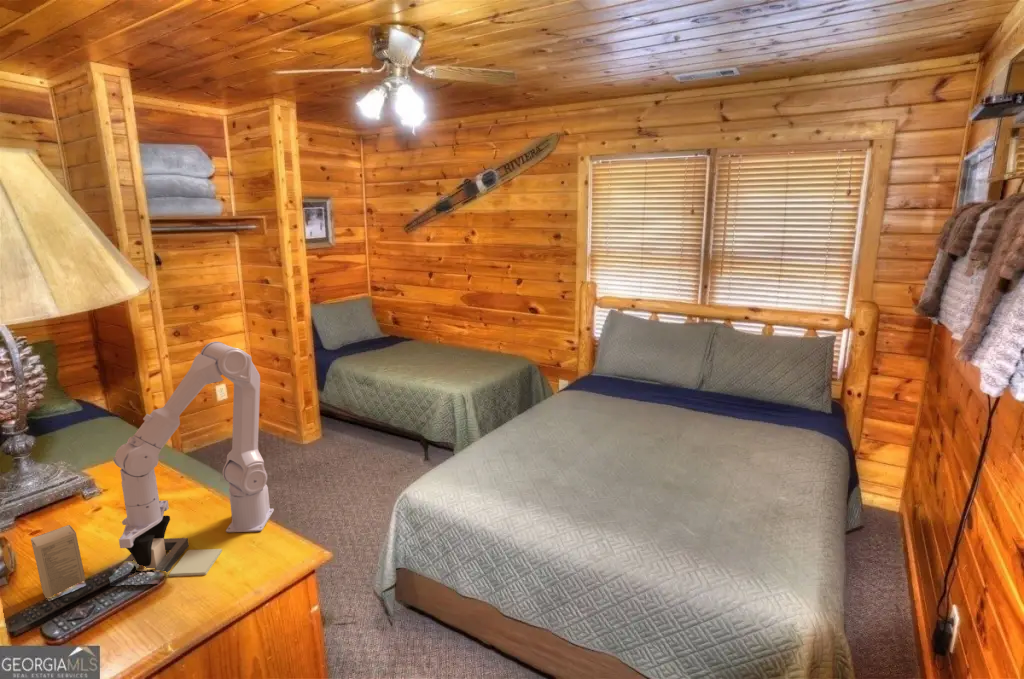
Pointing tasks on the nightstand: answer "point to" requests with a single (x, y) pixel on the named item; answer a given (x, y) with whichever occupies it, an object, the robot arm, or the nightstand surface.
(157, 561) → the peg
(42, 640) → the nightstand surface
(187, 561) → the tile
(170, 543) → the dark brown rectangular frame
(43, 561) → the skincare box
